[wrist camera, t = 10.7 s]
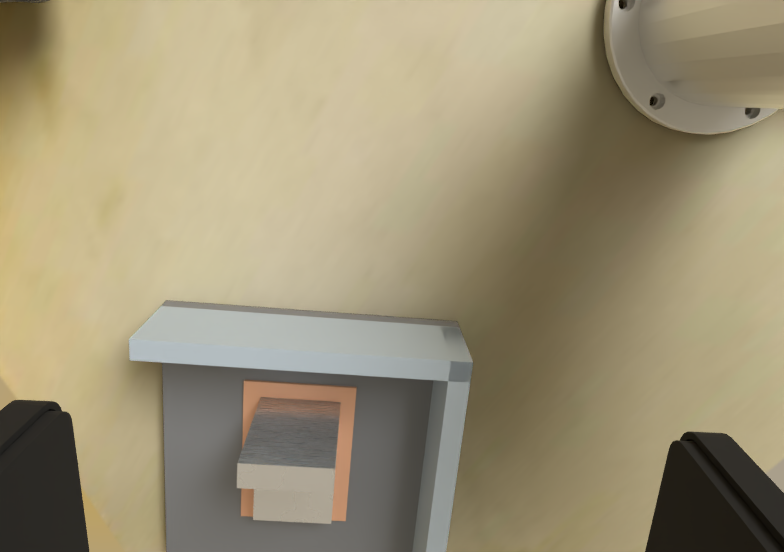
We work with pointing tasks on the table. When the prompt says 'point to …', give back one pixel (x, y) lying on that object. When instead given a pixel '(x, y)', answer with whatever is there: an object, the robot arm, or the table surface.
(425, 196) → the table surface
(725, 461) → the robot arm
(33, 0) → the bluetooth speaker
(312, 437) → the bracket
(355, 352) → the arena
